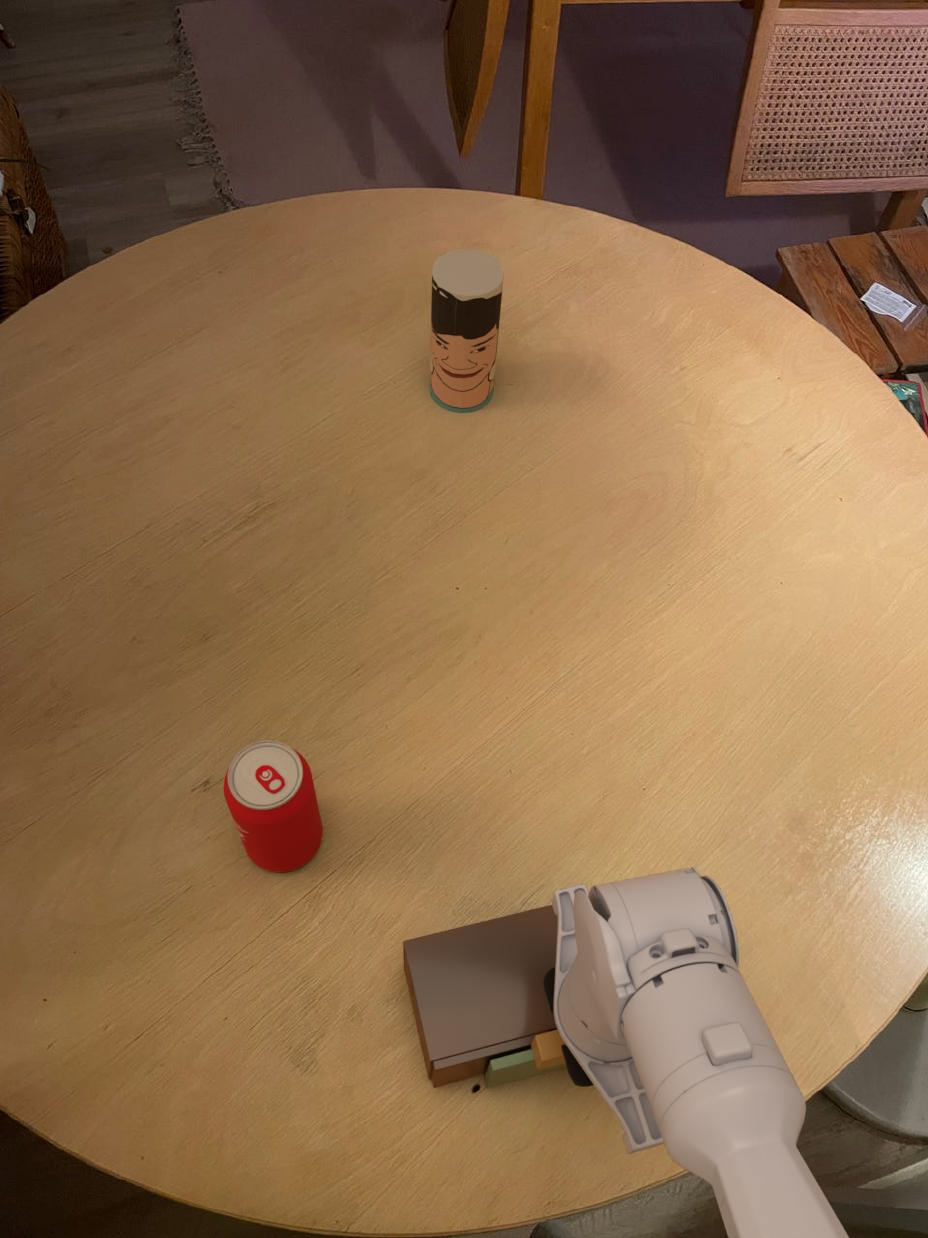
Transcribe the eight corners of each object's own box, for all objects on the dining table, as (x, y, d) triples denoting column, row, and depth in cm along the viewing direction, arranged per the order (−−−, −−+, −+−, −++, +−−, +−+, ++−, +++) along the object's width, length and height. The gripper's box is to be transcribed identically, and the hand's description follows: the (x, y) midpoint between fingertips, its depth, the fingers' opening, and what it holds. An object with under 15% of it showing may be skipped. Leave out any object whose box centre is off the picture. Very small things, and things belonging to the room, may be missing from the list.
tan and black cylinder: (416, 392, 109) (417, 275, 97) (454, 358, 112) (460, 239, 100) (468, 422, 107) (475, 305, 95) (505, 385, 110) (517, 268, 98)
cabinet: (645, 1030, 75) (664, 1009, 69) (430, 1089, 72) (432, 1071, 67) (607, 915, 79) (622, 887, 74) (403, 966, 77) (402, 941, 71)
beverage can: (289, 785, 84) (272, 716, 74) (339, 838, 82) (329, 774, 72) (227, 836, 82) (201, 771, 72) (277, 892, 79) (257, 833, 69)
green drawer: (598, 1069, 73) (621, 1040, 65) (489, 1099, 72) (498, 1073, 64) (591, 1045, 74) (613, 1014, 66) (483, 1074, 73) (491, 1046, 64)
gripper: (742, 1113, 52) (683, 1146, 64) (645, 846, 60) (608, 918, 71) (610, 1151, 51) (574, 1178, 62) (528, 873, 59) (509, 942, 70)
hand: (585, 1041), depth 67 cm, fingers closed on green drawer, 2 cm apart
